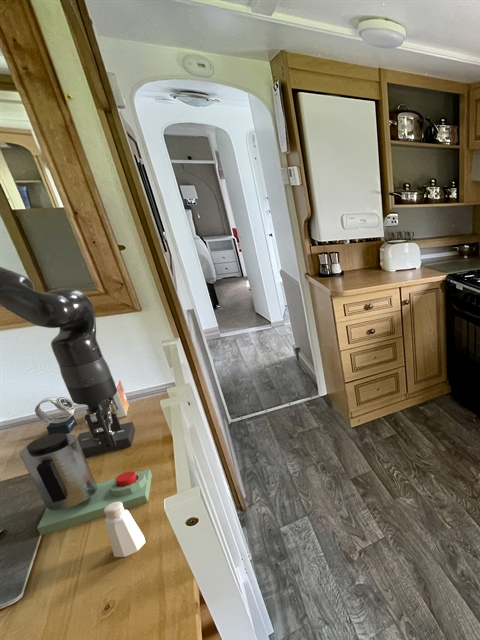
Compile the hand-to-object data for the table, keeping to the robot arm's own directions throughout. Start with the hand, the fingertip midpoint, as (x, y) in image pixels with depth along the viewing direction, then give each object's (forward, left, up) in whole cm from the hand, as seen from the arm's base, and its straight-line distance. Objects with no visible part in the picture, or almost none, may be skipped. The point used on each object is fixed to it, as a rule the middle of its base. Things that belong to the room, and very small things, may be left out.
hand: (113, 439), depth 90 cm
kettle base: (-5, -4, -14) cm, 15 cm away
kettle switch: (+1, -4, -10) cm, 11 cm away
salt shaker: (+2, -23, -14) cm, 27 cm away
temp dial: (-8, +25, -11) cm, 28 cm away
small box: (-8, +45, -14) cm, 47 cm away
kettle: (-9, -4, -10) cm, 14 cm away
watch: (-20, +41, -14) cm, 47 cm away
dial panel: (-8, +25, -14) cm, 29 cm away
